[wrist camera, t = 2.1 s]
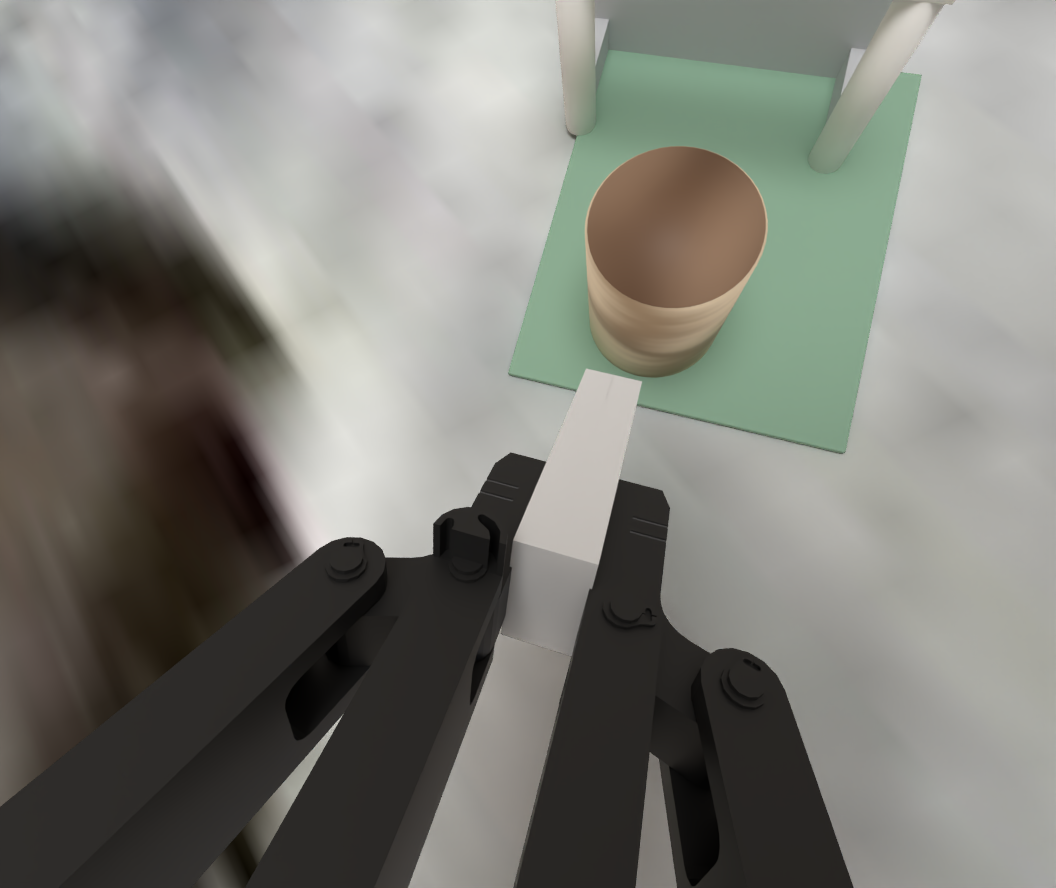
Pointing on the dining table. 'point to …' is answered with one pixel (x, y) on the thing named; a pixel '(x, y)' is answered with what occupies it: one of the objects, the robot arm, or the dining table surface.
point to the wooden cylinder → (669, 256)
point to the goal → (752, 49)
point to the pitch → (788, 257)
